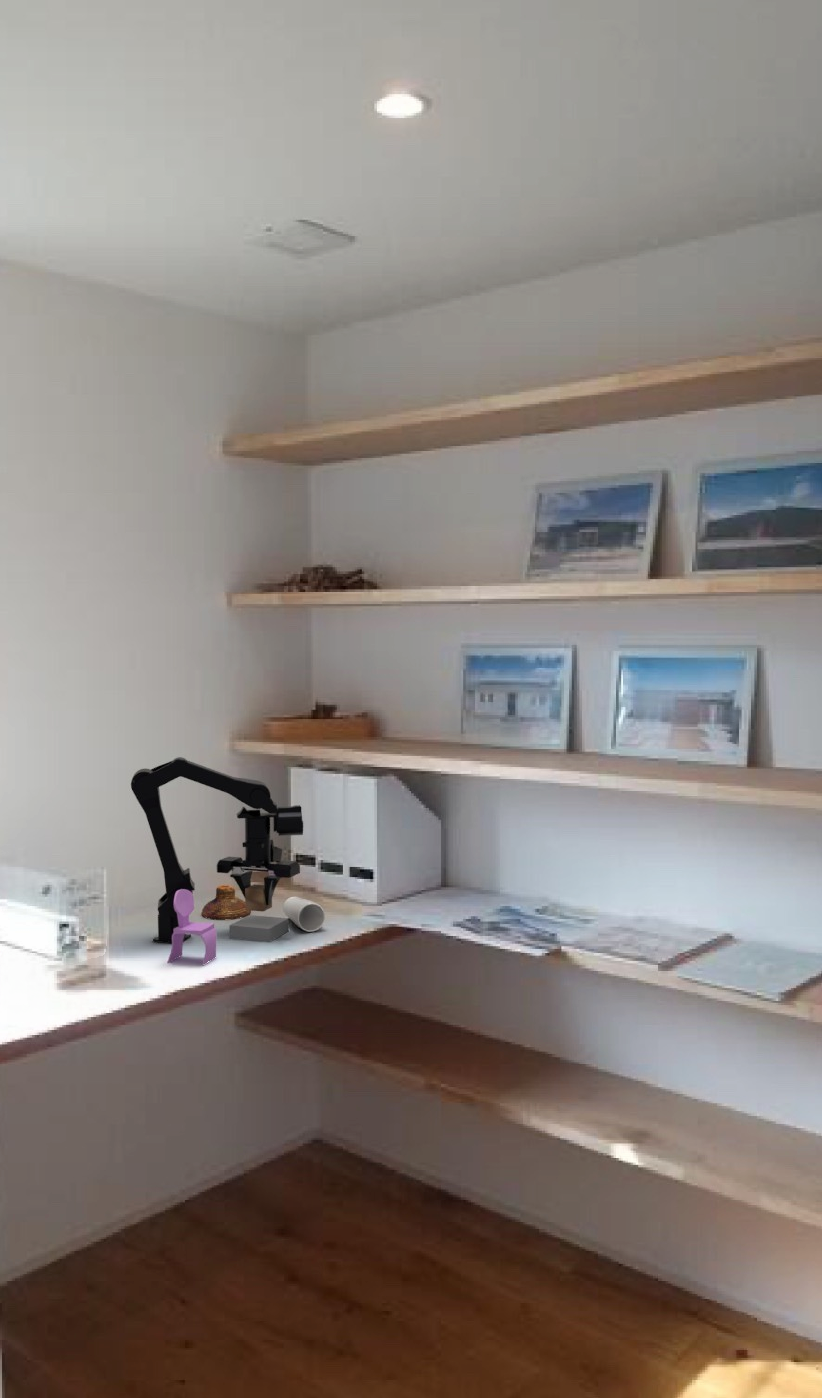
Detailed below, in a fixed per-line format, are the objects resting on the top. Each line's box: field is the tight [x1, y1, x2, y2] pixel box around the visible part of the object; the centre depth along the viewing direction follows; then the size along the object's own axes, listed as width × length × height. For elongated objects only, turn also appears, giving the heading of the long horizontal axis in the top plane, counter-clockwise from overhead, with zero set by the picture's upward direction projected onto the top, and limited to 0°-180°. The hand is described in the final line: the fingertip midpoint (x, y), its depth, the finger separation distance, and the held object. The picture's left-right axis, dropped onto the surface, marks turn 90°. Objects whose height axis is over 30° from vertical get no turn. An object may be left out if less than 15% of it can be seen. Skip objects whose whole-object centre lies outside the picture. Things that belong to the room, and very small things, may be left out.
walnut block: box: [244, 884, 273, 913], centre depth 268 cm, size 4×4×5 cm
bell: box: [201, 884, 252, 921], centre depth 288 cm, size 12×12×7 cm
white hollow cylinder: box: [282, 896, 326, 933], centre depth 277 cm, size 7×7×15 cm
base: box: [228, 914, 290, 943], centre depth 269 cm, size 10×10×3 cm
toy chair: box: [166, 889, 218, 965], centre depth 248 cm, size 8×9×15 cm
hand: (258, 904), depth 268 cm, fingers closed on walnut block, 4 cm apart
